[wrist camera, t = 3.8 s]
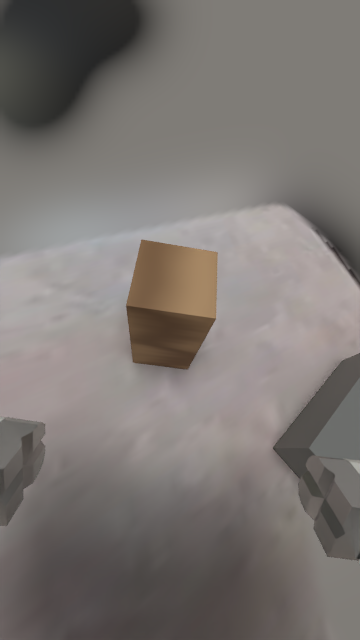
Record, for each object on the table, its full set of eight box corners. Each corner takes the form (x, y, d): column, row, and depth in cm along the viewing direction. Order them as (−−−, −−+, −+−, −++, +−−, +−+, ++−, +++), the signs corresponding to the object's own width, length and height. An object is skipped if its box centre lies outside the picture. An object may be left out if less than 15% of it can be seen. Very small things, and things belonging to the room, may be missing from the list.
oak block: (191, 321, 25) (217, 252, 16) (187, 369, 22) (216, 318, 14) (142, 314, 24) (141, 239, 16) (133, 362, 22) (126, 305, 13)
